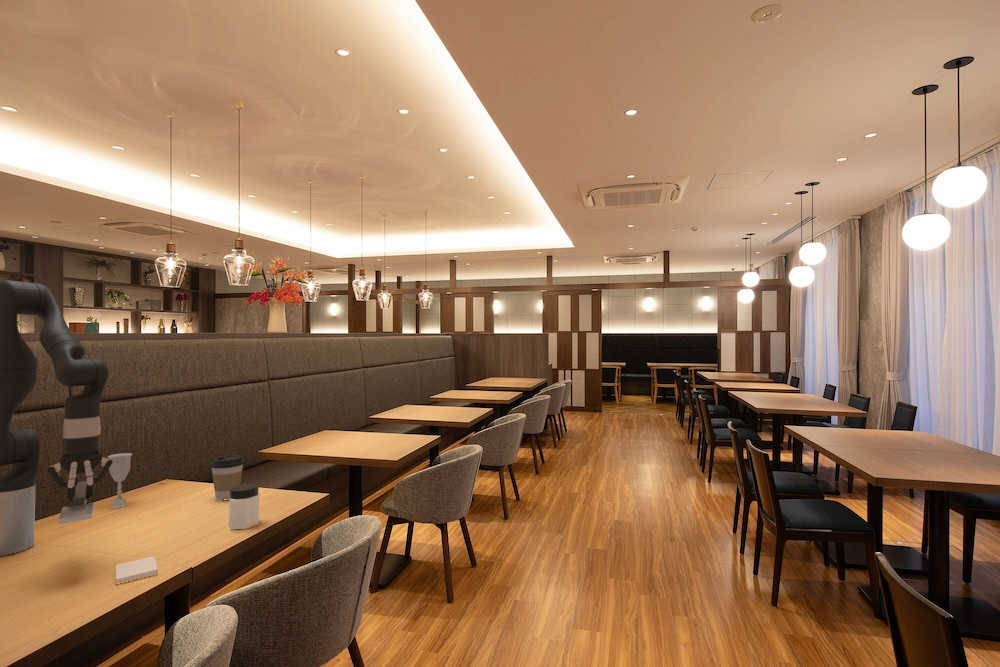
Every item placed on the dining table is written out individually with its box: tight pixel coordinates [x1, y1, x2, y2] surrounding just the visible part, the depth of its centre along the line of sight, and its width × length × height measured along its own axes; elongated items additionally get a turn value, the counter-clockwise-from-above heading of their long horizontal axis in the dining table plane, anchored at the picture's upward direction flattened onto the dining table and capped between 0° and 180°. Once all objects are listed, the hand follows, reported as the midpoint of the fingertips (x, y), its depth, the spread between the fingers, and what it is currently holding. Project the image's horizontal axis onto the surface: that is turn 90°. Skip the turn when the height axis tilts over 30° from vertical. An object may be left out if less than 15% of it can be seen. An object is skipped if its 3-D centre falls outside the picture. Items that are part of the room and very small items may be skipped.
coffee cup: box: [209, 454, 245, 501], centre depth 179 cm, size 11×11×15 cm
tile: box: [115, 555, 158, 585], centre depth 119 cm, size 8×2×10 cm
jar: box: [228, 483, 260, 531], centre depth 151 cm, size 9×8×12 cm
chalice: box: [107, 452, 133, 509], centre depth 170 cm, size 7×7×18 cm
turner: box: [57, 480, 95, 525], centre depth 124 cm, size 22×6×3 cm, turn 37°
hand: (80, 499), depth 126 cm, fingers closed on turner, 2 cm apart
